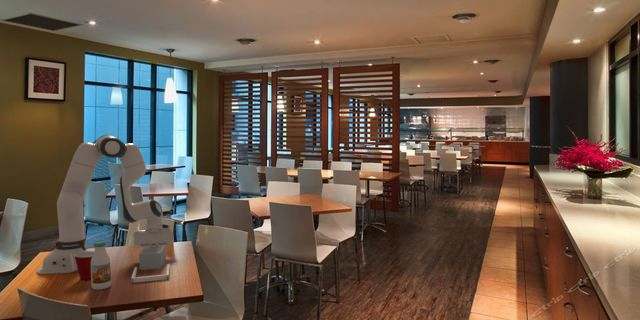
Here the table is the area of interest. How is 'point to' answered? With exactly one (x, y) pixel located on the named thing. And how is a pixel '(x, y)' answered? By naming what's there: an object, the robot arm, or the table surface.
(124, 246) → the table surface
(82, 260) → the plastic cup
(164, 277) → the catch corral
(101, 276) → the milk bottle
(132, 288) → the table surface
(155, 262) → the slate block
